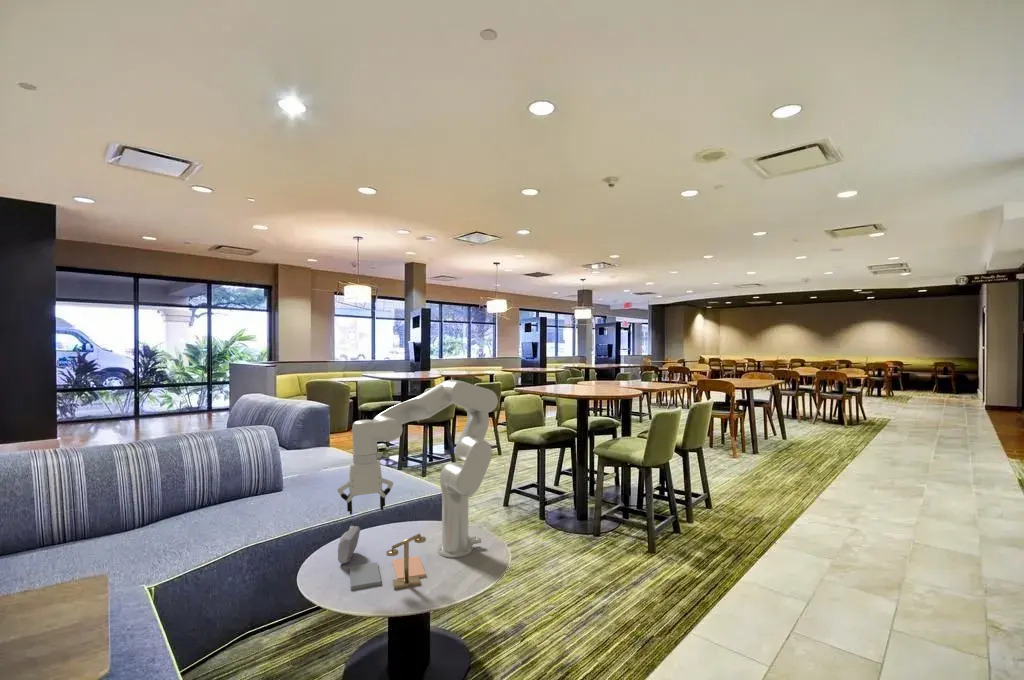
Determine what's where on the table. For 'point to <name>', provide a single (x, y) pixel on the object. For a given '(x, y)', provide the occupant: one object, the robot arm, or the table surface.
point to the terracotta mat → (414, 567)
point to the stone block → (348, 544)
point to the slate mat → (364, 576)
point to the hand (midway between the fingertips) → (366, 511)
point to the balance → (406, 563)
